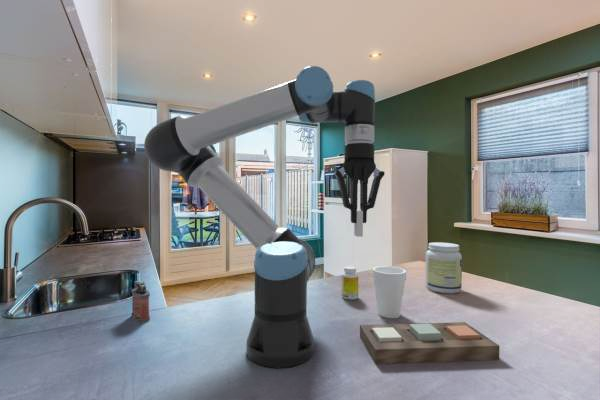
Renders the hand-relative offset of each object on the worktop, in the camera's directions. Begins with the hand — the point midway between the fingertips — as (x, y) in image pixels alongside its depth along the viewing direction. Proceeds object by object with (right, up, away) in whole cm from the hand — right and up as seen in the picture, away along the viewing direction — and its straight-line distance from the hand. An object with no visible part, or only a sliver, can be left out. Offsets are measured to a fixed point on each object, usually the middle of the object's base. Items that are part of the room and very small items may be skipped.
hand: (358, 235), depth 79 cm
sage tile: (+14, -22, -9) cm, 27 cm away
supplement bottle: (+2, -24, +26) cm, 35 cm away
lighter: (-60, -24, +7) cm, 65 cm away
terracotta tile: (+23, -23, -8) cm, 33 cm away
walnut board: (+14, -25, -9) cm, 29 cm away
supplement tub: (+38, -24, +35) cm, 58 cm away
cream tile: (+5, -23, -9) cm, 25 cm away
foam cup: (+11, -25, +11) cm, 29 cm away
